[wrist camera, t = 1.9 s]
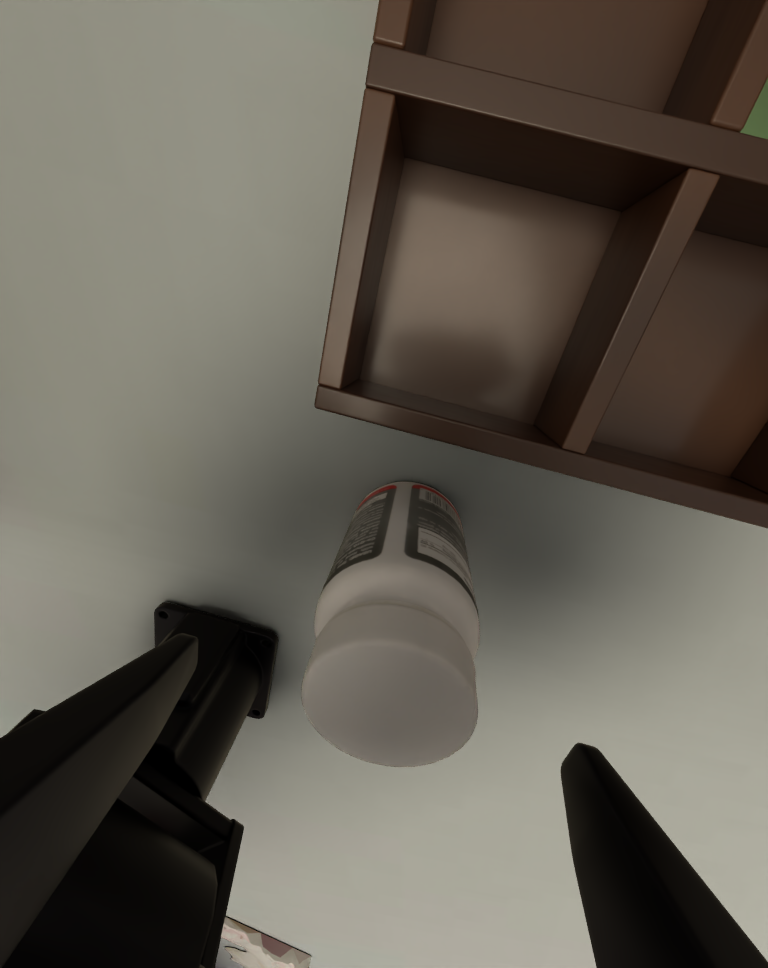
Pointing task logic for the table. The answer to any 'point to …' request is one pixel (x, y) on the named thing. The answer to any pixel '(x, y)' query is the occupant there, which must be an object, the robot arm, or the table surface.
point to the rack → (565, 241)
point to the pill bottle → (396, 633)
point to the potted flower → (261, 949)
